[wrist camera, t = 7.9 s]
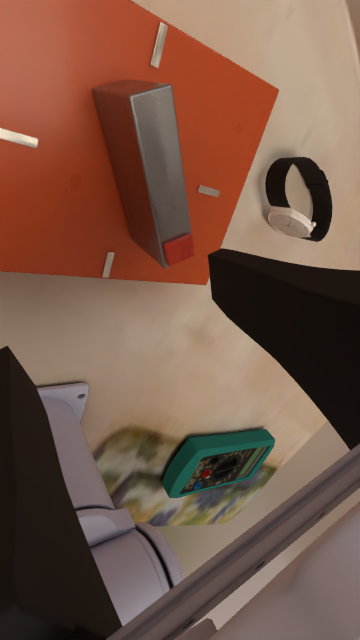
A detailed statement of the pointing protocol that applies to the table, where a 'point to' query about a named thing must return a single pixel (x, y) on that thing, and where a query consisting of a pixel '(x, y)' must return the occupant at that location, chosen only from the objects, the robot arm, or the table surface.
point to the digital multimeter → (216, 461)
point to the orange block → (89, 143)
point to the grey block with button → (147, 165)
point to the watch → (291, 219)
